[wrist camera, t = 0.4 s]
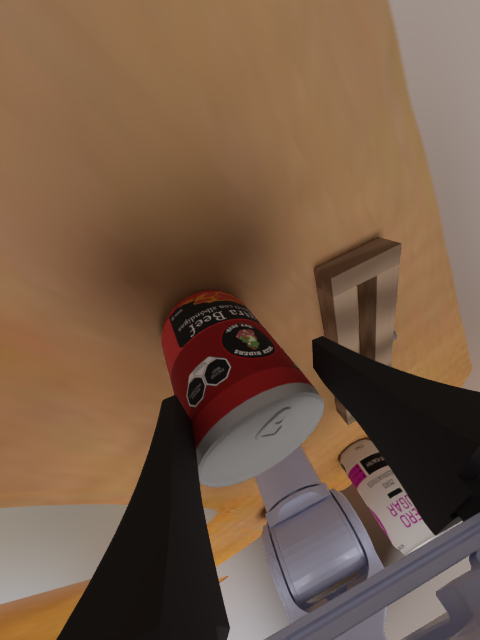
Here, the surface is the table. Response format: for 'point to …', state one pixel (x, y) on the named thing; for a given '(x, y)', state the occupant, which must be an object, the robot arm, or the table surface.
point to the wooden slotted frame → (361, 301)
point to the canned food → (236, 388)
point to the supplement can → (385, 497)
